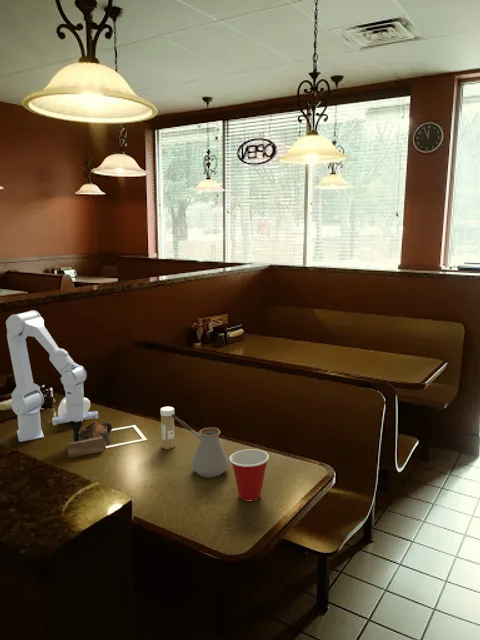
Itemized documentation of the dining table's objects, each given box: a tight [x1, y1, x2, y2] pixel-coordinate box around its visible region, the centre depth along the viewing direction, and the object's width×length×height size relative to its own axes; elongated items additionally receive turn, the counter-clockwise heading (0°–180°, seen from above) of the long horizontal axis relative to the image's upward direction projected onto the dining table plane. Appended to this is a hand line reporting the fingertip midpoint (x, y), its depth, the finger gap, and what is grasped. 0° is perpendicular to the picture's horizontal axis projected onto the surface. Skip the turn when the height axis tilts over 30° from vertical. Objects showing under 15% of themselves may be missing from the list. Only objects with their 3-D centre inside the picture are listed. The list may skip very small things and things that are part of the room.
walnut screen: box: [67, 436, 105, 459], centre depth 168 cm, size 1×11×4 cm, turn 118°
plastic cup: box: [228, 448, 270, 501], centre depth 142 cm, size 11×11×12 cm
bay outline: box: [104, 424, 148, 449], centre depth 181 cm, size 14×14×1 cm
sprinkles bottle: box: [160, 406, 176, 450], centre depth 172 cm, size 5×5×13 cm
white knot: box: [57, 396, 91, 422], centre depth 195 cm, size 11×12×9 cm
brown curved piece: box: [78, 421, 113, 448], centre depth 176 cm, size 12×10×8 cm
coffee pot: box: [169, 414, 230, 478], centre depth 158 cm, size 21×12×15 cm, turn 55°
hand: (76, 441), depth 175 cm, fingers closed, pressing on brown curved piece
